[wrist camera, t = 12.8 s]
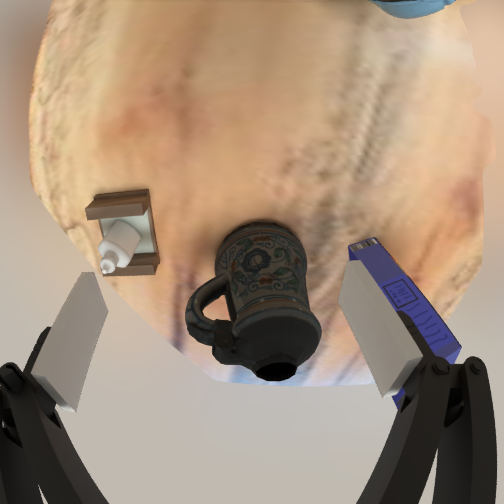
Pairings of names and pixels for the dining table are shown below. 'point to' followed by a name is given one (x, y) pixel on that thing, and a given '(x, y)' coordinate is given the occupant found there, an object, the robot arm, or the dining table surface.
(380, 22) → the dining table surface
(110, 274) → the u rest
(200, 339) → the beer stein
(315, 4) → the dining table surface
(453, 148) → the dining table surface
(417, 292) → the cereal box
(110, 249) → the eye dropper bottle
